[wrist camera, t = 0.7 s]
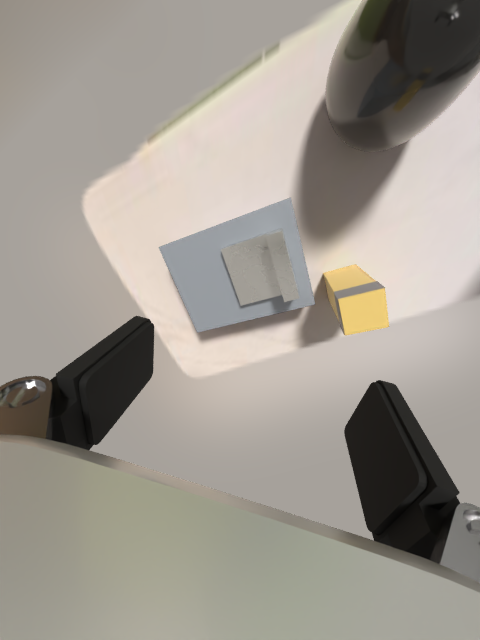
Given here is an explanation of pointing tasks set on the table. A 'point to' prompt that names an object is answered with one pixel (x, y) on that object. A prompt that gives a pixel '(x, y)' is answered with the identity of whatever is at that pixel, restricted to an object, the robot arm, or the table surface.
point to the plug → (356, 300)
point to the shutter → (261, 268)
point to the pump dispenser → (400, 68)
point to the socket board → (213, 276)
